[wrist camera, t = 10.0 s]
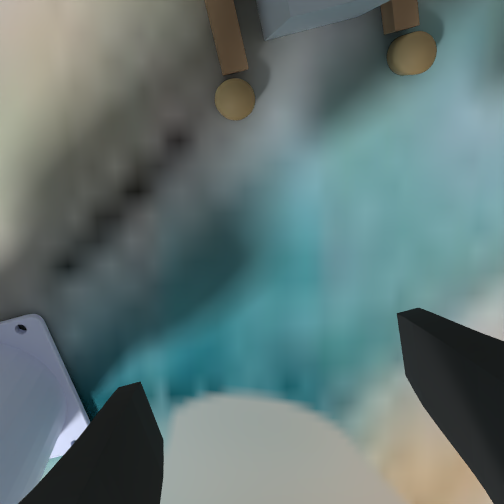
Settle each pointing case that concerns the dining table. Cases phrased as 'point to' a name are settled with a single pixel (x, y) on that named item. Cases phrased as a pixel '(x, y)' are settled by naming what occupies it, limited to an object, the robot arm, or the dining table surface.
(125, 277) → the dining table surface
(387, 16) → the wooden frame
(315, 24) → the panel block
